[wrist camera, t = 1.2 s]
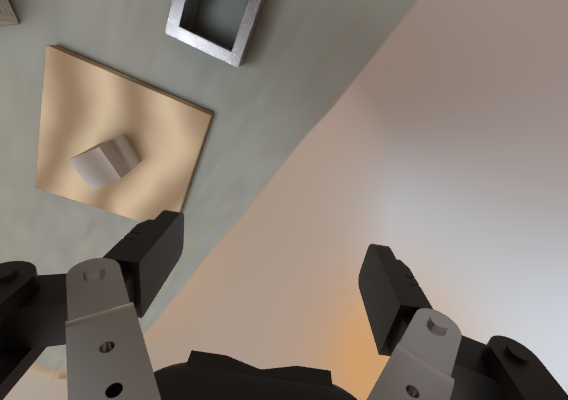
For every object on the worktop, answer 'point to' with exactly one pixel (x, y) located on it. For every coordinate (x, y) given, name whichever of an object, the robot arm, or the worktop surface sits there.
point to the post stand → (115, 139)
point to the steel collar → (182, 29)
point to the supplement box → (7, 14)
